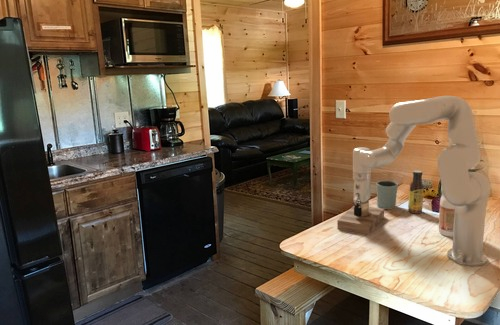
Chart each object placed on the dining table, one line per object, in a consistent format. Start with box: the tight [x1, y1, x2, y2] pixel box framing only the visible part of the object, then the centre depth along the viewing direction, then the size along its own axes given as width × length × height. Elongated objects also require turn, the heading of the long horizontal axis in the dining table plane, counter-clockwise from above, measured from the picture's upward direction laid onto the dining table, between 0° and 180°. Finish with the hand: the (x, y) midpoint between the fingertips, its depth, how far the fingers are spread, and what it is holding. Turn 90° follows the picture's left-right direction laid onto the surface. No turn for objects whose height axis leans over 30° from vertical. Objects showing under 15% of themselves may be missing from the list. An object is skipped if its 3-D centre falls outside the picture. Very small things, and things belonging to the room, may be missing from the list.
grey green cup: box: [376, 180, 399, 210], centre depth 198 cm, size 10×10×12 cm
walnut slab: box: [336, 205, 385, 235], centre depth 180 cm, size 22×14×4 cm, turn 146°
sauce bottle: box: [407, 170, 425, 214], centre depth 187 cm, size 7×6×20 cm
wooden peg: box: [357, 200, 370, 217], centre depth 179 cm, size 6×6×10 cm
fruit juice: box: [438, 185, 455, 238], centre depth 161 cm, size 9×9×28 cm
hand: (361, 212), depth 179 cm, fingers open, 9 cm apart
